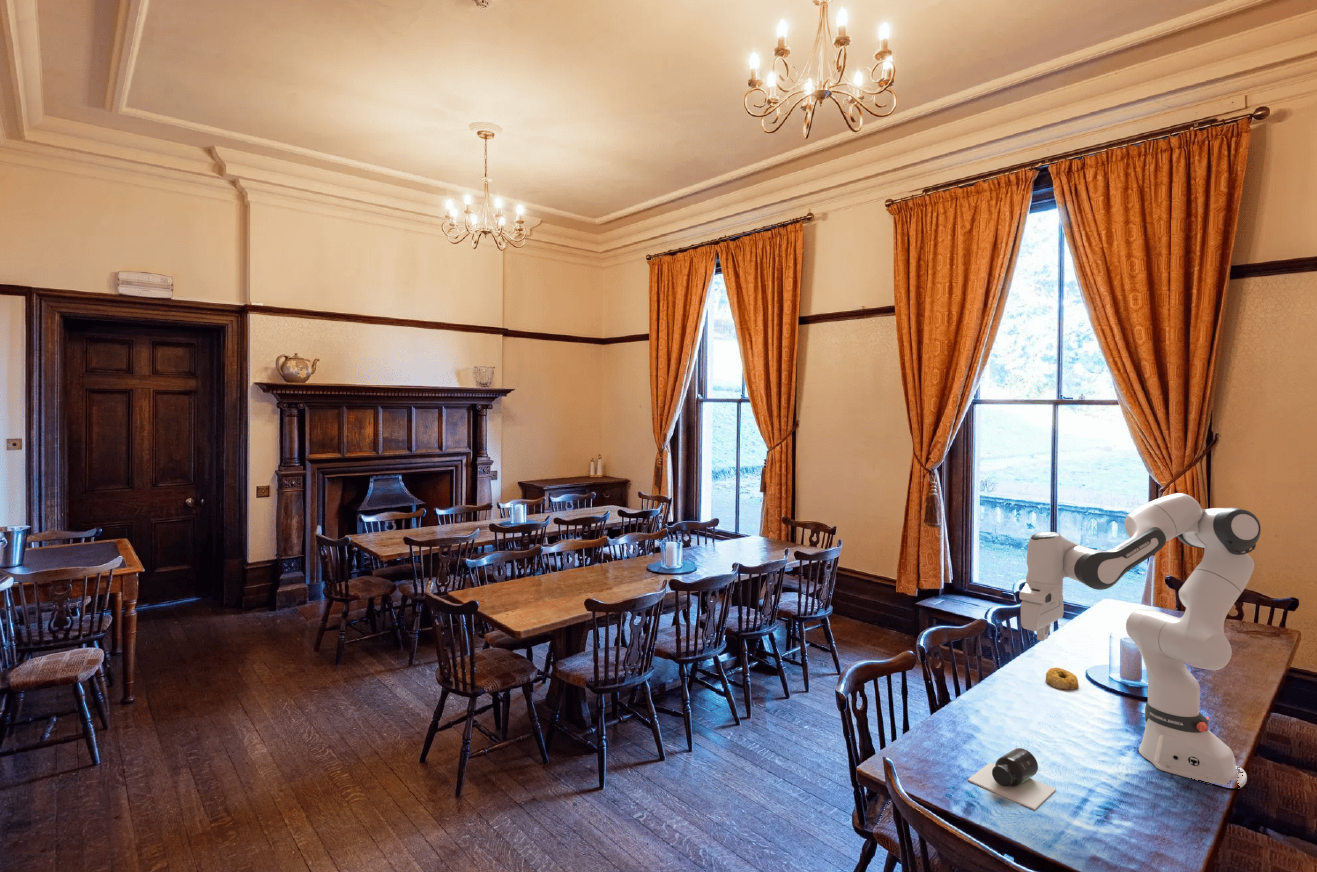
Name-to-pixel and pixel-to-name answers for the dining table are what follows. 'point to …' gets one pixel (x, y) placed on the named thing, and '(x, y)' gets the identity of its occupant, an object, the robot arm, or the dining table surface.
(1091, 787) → the dining table surface
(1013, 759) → the supplement bottle
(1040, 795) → the mat
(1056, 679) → the bagel
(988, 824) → the dining table surface
